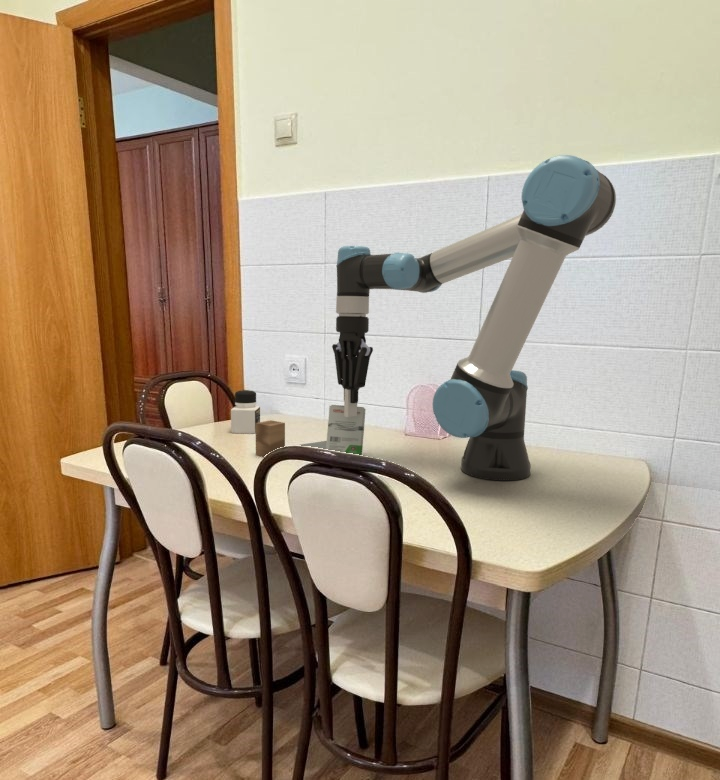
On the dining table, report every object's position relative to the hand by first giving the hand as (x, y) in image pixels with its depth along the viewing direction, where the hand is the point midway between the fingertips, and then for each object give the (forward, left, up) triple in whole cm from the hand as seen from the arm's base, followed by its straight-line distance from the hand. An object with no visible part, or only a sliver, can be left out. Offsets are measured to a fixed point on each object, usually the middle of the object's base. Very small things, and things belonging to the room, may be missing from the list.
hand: (350, 416), depth 132 cm
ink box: (+3, 0, -10) cm, 10 cm away
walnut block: (+15, +13, -11) cm, 23 cm away
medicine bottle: (+44, +6, -11) cm, 45 cm away
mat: (+12, +1, -11) cm, 16 cm away
